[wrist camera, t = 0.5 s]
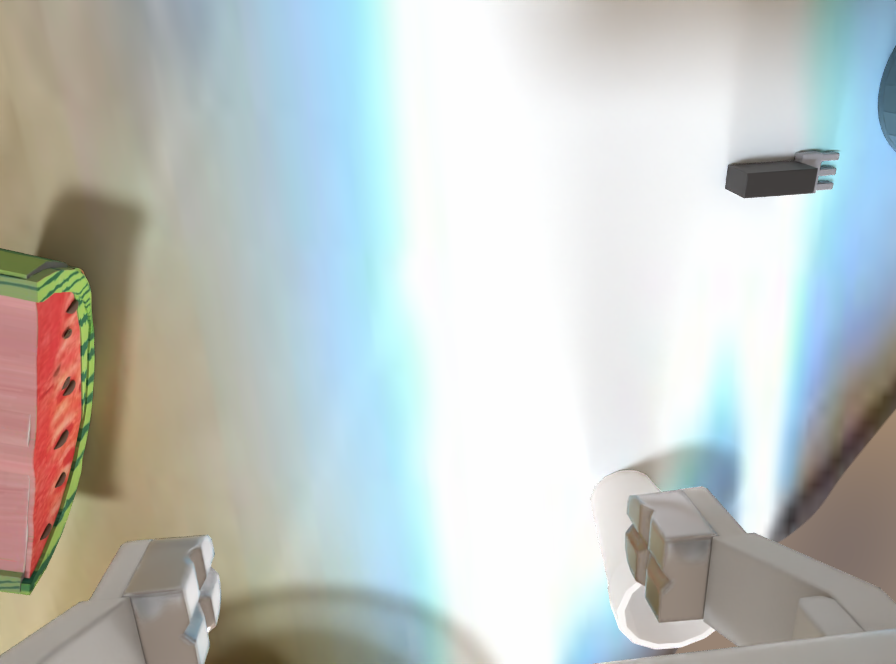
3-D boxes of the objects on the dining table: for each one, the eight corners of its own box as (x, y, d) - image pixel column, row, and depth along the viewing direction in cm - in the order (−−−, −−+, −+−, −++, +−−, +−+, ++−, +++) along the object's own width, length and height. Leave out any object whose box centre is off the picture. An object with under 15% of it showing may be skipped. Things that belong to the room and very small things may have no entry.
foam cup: (690, 475, 62) (760, 581, 50) (637, 544, 65) (692, 659, 53) (606, 443, 59) (659, 547, 48) (556, 517, 63) (594, 631, 51)
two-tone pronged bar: (723, 196, 50) (742, 206, 47) (728, 156, 49) (748, 164, 46) (825, 188, 50) (850, 198, 48) (833, 149, 49) (859, 156, 46)
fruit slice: (90, 507, 58) (35, 597, 49) (13, 495, 56) (-58, 585, 48) (110, 230, 47) (45, 280, 38) (17, 208, 46) (-73, 254, 37)
